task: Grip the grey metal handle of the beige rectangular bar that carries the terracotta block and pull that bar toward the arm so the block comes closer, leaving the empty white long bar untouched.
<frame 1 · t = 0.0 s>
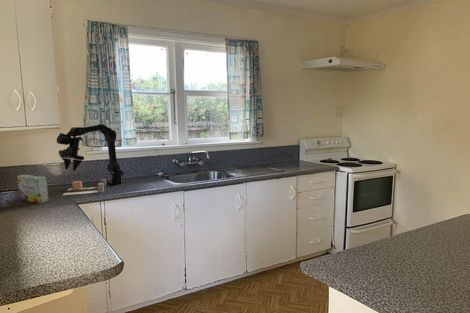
hand: (70, 169, 214), 15 cm above the countertop, tool pointing down, fingers open, 9 cm apart
terracotta block: (77, 188, 225), point 1 cm above the countertop, touching beige rectangular bar
snack box: (34, 201, 200), on the countertop
beige rectangular bar: (86, 185, 226), point 3 cm above the countertop, slide at 0.0 cm, touching terracotta block
white long bar: (83, 189, 214), point 3 cm above the countertop, slide at 0.0 cm
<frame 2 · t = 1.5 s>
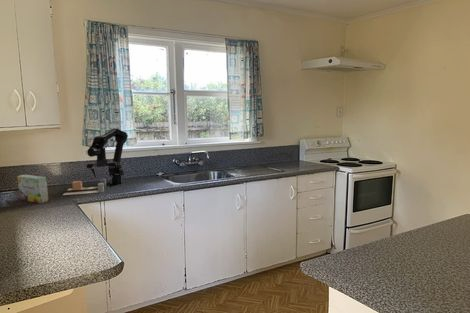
hand: (102, 177, 228), 8 cm above the countertop, tool pointing down, fingers open, 9 cm apart
nothing on the countertop moved.
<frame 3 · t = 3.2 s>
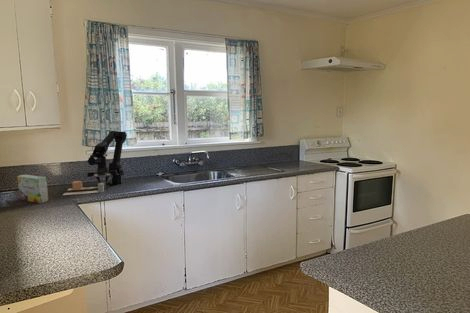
hand: (103, 185, 229), 2 cm above the countertop, tool pointing down, fingers closed on beige rectangular bar, 3 cm apart
beige rectangular bar: (86, 185, 226), point 3 cm above the countertop, slide at 0.0 cm, touching gripper, terracotta block
everything else where it was.
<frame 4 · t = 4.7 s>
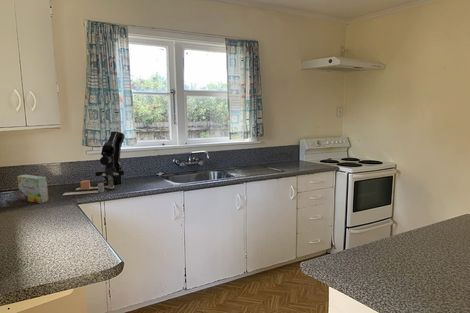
hand: (111, 184, 230), 2 cm above the countertop, tool pointing down, fingers closed on beige rectangular bar, 3 cm apart
terracotta block: (85, 188, 226), point 1 cm above the countertop, touching beige rectangular bar
beige rectangular bar: (94, 184, 227), point 3 cm above the countertop, slide at 5.0 cm, touching gripper, terracotta block
everything else where it was.
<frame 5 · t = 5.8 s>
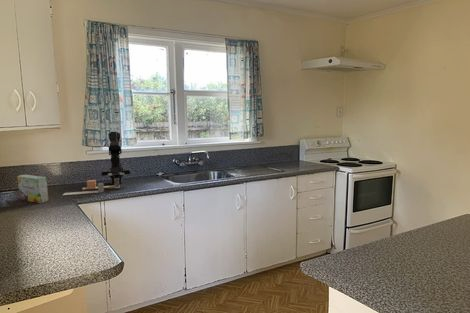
hand: (117, 184, 231), 2 cm above the countertop, tool pointing down, fingers closed on beige rectangular bar, 3 cm apart
terracotta block: (91, 187, 227), point 1 cm above the countertop, touching beige rectangular bar
beige rectangular bar: (100, 184, 228), point 3 cm above the countertop, slide at 8.9 cm, touching gripper, terracotta block
everything else where it was.
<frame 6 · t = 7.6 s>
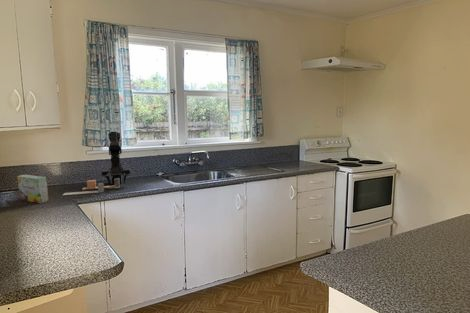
hand: (117, 184, 231), 2 cm above the countertop, tool pointing down, fingers open, 9 cm apart
beige rectangular bar: (101, 184, 228), point 3 cm above the countertop, slide at 9.0 cm, touching terracotta block
everything else where it was.
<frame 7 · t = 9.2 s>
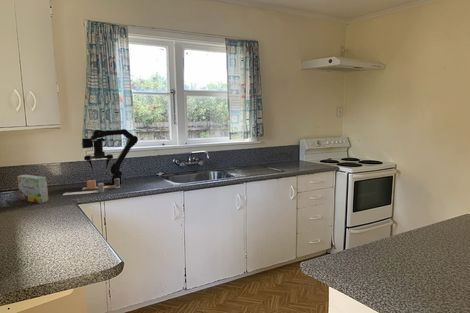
hand: (99, 169, 237), 12 cm above the countertop, tool pointing down, fingers open, 9 cm apart
nothing on the countertop moved.
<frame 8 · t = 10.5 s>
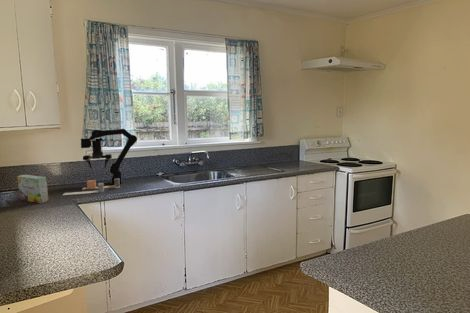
hand: (98, 168, 238), 12 cm above the countertop, tool pointing down, fingers open, 9 cm apart
nothing on the countertop moved.
at the end: terracotta block inside the target area (0.2 cm from its centre), point 0.9 cm above the countertop; terracotta block tilted 0°; white long bar slide at 0.0 cm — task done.
